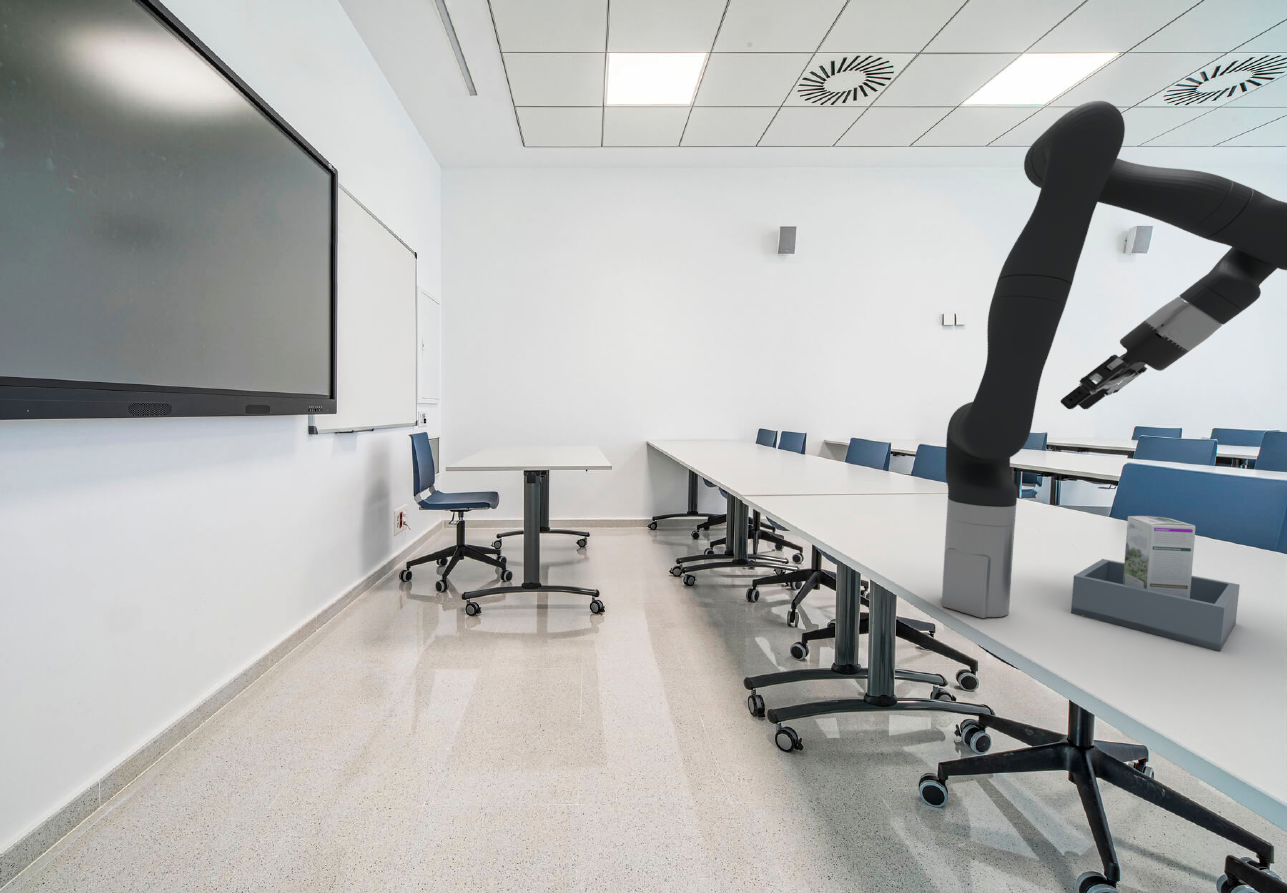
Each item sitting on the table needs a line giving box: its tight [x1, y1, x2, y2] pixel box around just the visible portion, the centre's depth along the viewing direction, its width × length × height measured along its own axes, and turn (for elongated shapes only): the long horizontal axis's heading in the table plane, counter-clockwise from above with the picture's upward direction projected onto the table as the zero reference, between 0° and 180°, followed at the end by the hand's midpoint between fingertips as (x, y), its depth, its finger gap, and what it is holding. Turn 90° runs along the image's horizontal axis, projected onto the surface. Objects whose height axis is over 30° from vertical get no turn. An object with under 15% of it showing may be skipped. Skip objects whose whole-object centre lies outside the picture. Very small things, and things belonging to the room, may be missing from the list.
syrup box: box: [1123, 515, 1196, 599], centre depth 81 cm, size 6×6×14 cm
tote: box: [1070, 558, 1241, 652], centre depth 81 cm, size 16×16×6 cm
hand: (1072, 405), depth 93 cm, fingers open, 8 cm apart
